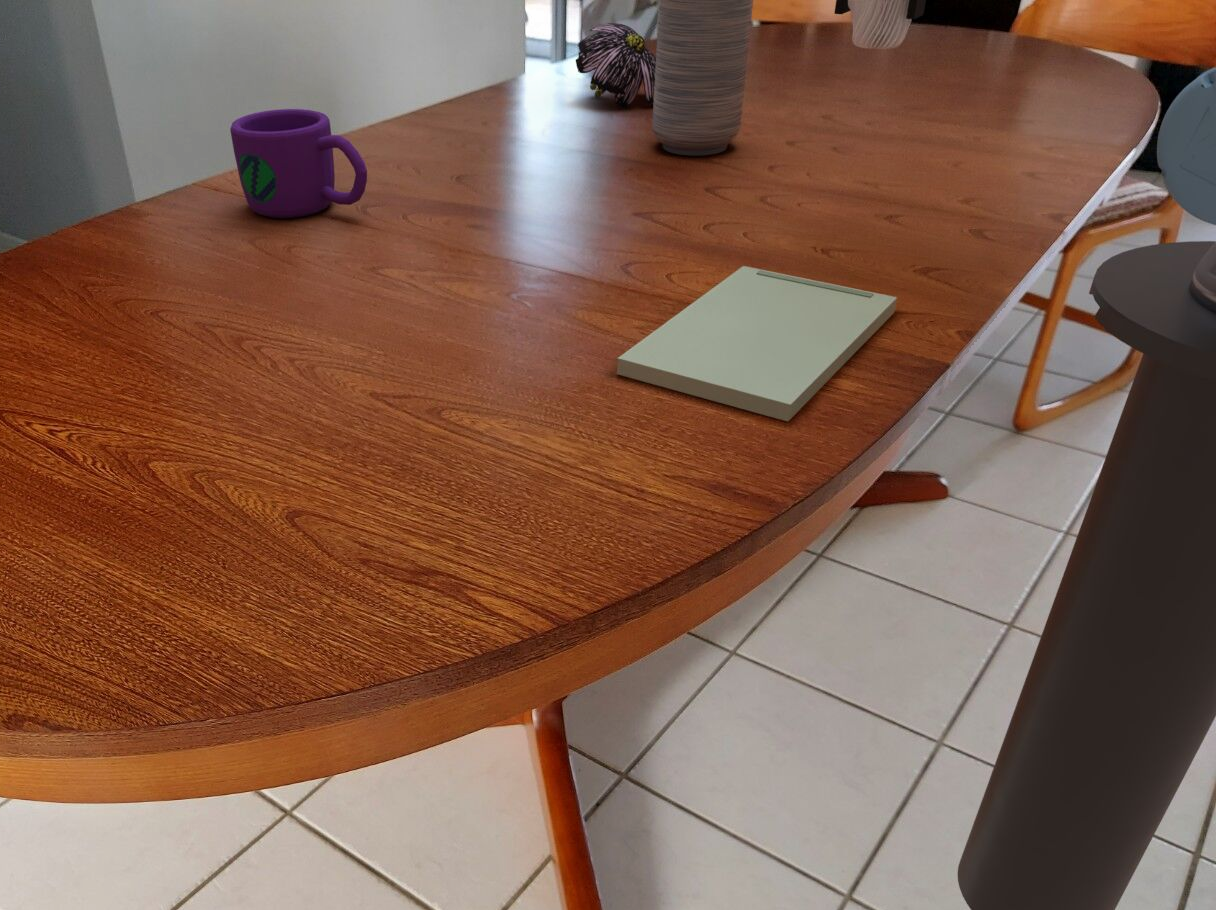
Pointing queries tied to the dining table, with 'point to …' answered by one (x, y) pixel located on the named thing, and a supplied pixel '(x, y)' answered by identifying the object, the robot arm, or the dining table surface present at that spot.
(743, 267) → the cutting board
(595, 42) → the decorative flower
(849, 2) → the shell sculpture
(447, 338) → the dining table surface
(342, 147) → the mug
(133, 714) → the dining table surface
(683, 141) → the vase
